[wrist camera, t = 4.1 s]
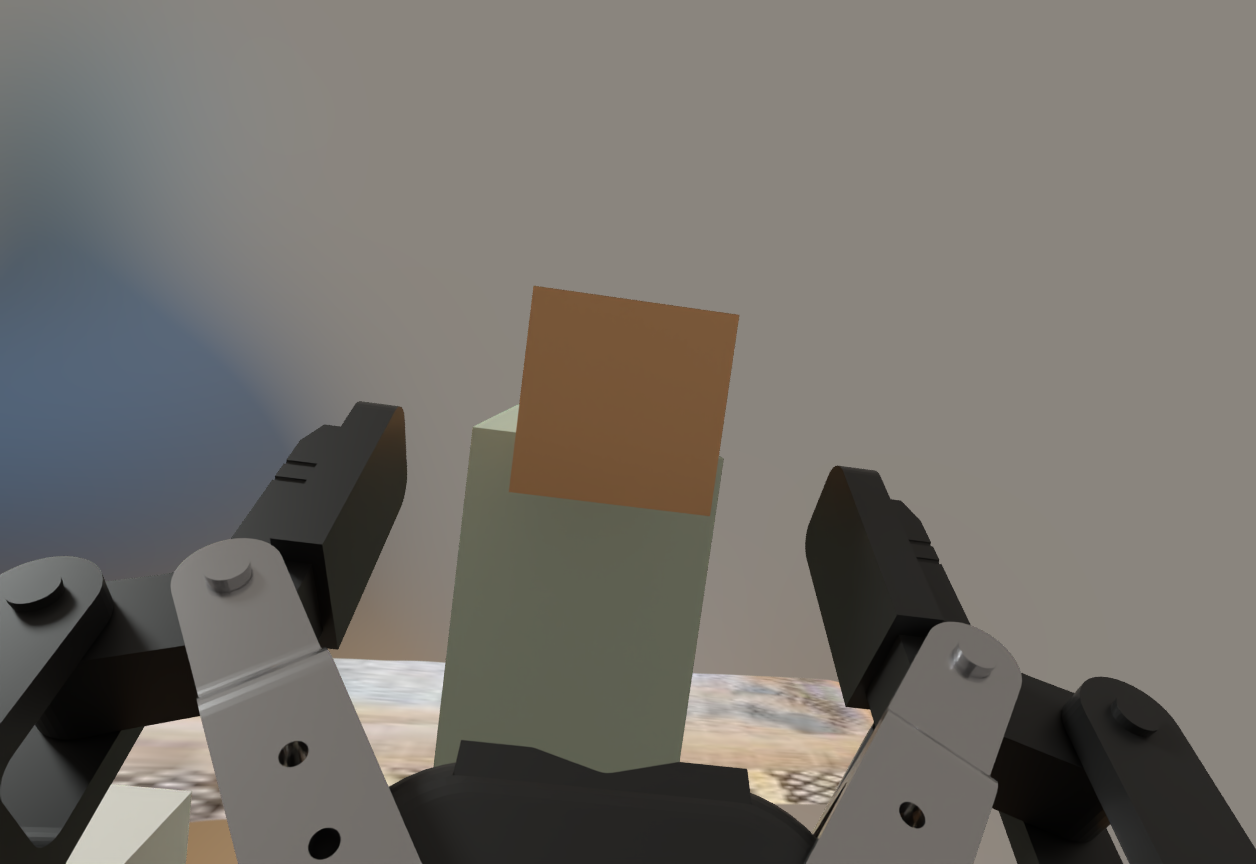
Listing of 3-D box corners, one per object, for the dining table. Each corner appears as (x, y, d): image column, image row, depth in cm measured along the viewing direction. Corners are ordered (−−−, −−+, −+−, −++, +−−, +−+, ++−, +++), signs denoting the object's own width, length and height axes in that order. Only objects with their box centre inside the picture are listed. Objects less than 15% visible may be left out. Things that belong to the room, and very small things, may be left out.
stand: (313, 1370, 23) (416, 423, 20) (433, 932, 41) (496, 398, 38) (638, 1380, 24) (777, 469, 21) (616, 946, 42) (690, 423, 39)
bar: (508, 492, 12) (533, 285, 11) (562, 408, 38) (570, 344, 37) (709, 515, 12) (739, 314, 12) (626, 416, 38) (634, 352, 38)
